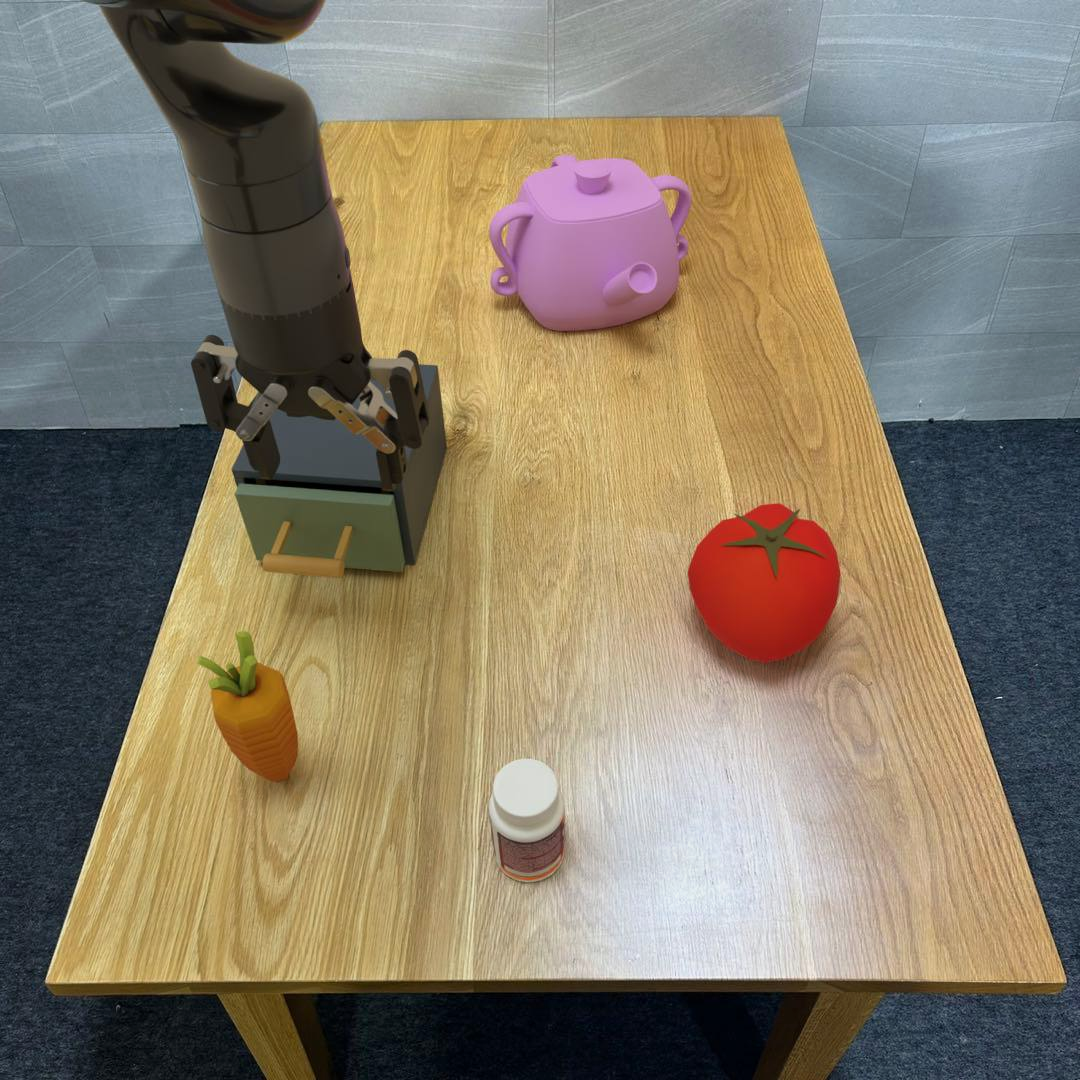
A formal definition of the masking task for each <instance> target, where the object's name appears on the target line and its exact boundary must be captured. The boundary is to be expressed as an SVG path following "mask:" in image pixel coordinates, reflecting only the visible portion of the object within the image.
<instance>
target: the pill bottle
mask: <svg viewBox="0 0 1080 1080" xmlns="http://www.w3.org/2000/svg"><path fill="white" fill-rule="evenodd" d="M565 807H566V806H565V798H564V796H563V793H562V791H561V789H560V787H559V782H558V778H557V776H556V774H555V772H554V771H553V770H552V769H551V767H550V766H548V765H547V763H544V761H543V762H542V761H540V760H538V759H535V758H518V759H515V760H512V761H510V762H508V763H506V764H505V765H503V766H502V767H501V769H500V770H498V772H497V773H496V775H495V777H494V780H493V783H492V793H491V795H490V798H489V800H488V808H487V810H488V811H487V812H488V818H489V825H490V831H491V840H492V841H491V842H492V847H493V849H492V850H493V855H494V859H495V862H496V864H497V866H498V867H499V869H500V870H501V871H502V873H503V874H505V875H506V876H507V877H509V878H511V879H513V880H515V881H518V882H522V883H535V882H539V881H543V880H544V879H545V880H546V879H547V878H548V877H551V875H553V874H554V873H555V872H556V871H557V870H558V869H559V867H560V866H561V865H562V862H563V860H564V856H565V851H566V820H565V819H566V814H565V812H566V810H565Z"/></svg>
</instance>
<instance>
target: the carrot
mask: <svg viewBox="0 0 1080 1080" xmlns="http://www.w3.org/2000/svg"><path fill="white" fill-rule="evenodd" d="M235 637H236V638H235V639H236V644H237V647H238V653H239V666H235V665H234V664H233V662H229V663H227V664H226V665H225V668H223V667H221V666H220V665H219V664H218V663H216V662H215V661H213V660H211V659H209V658H208V657H205V656H203V655H199V657H198V658H197V664H198V665H199V666H201V667H203V668H204V669H207V670H209V671H211V672H212V673H214V675H217V677H213V678H211V679H209V680H208V686H209V688H210V696H211V704H212V710H213V718H214V721H215V724H216V725H217V727H218V729H219V732H220V734H221V736H222V737H223V739H224V740H225V742H226V745H227V746H228V748H229V750H230V751H231V752H232V754H233V755H234V756H235V757H236V759H238V761H240V763H241V764H243V765H244V766H245V767H246V769H248V771H250V772H252V773H254V774H256V775H257V776H259V777H261V778H264V779H266V780H268V781H270V782H273V783H281V782H285V781H286V780H287V778H288V777H289V776H290V774H291V772H292V771H293V770H294V767H295V766H296V763H297V759H298V756H299V738H298V737H299V736H298V728H297V724H296V719H295V715H294V710H293V706H292V701H291V698H290V694H289V693H290V692H289V690H288V687H287V683H286V680H285V677H284V674H282V672H280V671H279V670H277V669H274V668H272V667H270V666H268V665H265V664H263V663H260V662H259V661H258V659H257V657H256V656H255V655H256V654H255V648H254V643H253V638H252V635H251V633H250V632H249V631H244V630H240V631H238V632H236V633H235ZM225 669H226V670H225Z"/></svg>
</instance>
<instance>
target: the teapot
mask: <svg viewBox="0 0 1080 1080" xmlns="http://www.w3.org/2000/svg"><path fill="white" fill-rule="evenodd" d="M667 190H668V191H669V190H672V191H677V193H678V197H677V201H676V204H675V207H674V210H673V211H672V214H671V215H670V214H669V211H668V208H667V207H668V206H667V205H666V202H665V200H664V198H663V195H662V193H661V192H663V191H667ZM692 200H693V199H692V192H691V189H690V187H689V185H688V184H686V182H684V181H683V180H682V179H680V178H679V177H677V176H674V175H670V174H661V175H657V176H653V177H651V178H650V177H649V176H648V174H646V173H645V171H644V170H643V169H642V168H641V167H640V166H638V164H637V163H635V162H634V161H632V160H630V159H626V158H616V157H614V158H607V157H606V158H597V159H596V158H595V159H585V160H580V161H579V160H578V159H577V157H576V156H574V155H572V154H561V155H558V156H556V157H554V159H552V161H551V163H550V167H548V168H545V169H542V170H539V171H536V172H534V173H532V174H530V175H529V176H528V177H526V178H525V179H524V181H523V183H522V185H521V186H520V190H519V192H518V195H517V197H516V200H515V202H512V203H510V204H507V205H504V206H503V207H501V209H500V210H498V211H497V212H496V213H495V214H494V216H493V217H492V218H491V221H490V222H489V228H488V236H489V240H490V244H491V247H492V249H493V251H494V254H495V255H496V257H497V258H498V260H499V262H500V264H501V265H502V266H501V267H497V268H495V269H494V270H493V271H492V272H491V274H490V278H489V279H490V280H489V284H490V287H491V290H492V291H493V292H494V293H495V294H496V295H499V296H502V297H511V296H514V295H516V294H517V295H518V297H519V298H520V300H521V302H522V303H523V304H524V306H525V307H526V309H527V311H528V312H529V313H530V314H531V316H533V318H534V320H536V321H537V323H538V324H539V325H541V326H542V327H544V328H546V329H548V330H552V331H557V332H558V331H559V332H576V331H577V332H579V331H588V330H589V331H590V330H598V329H606V328H611V327H615V326H620V325H624V324H627V323H630V322H634V321H637V320H639V319H642V318H646V317H647V316H650V315H652V314H654V313H656V312H659V311H660V310H661V309H663V308H664V307H665V306H666V305H667V303H668V302H669V301H670V300H671V298H672V296H673V295H674V294H675V292H676V291H677V288H678V285H679V283H680V262H681V261H682V260H683V259H685V258H686V257H687V255H688V254H689V248H690V247H689V246H690V245H689V241H688V238H687V237H686V236H685V235H684V234H682V233H681V231H682V229H683V227H684V225H685V223H686V221H687V219H688V217H689V213H690V211H691V207H692ZM507 225H508V226H507ZM506 226H507V231H506V239H505V240H506V241H505V244H504V240H503V237H502V236H503V235H502V232H503V230H504V229H505V227H506ZM503 277H508V279H507V280H506V281H504V282H501V281H500V280H501V279H502V278H503Z"/></svg>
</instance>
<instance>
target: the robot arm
mask: <svg viewBox="0 0 1080 1080" xmlns="http://www.w3.org/2000/svg"><path fill="white" fill-rule="evenodd" d="M80 1H81V2H85V3H87V4H91V5H96V6H98V8H99V9H100V11H101V13H102V15H103V17H104V18H105V20H106V22H107V24H108V27H110V29H111V31H112V33H113V34H114V35H113V36H115V38H116V39H117V42H118V43H119V45H120V46H121V48H122V49H123V51H124V53H125V54H126V56H127V58H128V59H129V60H130V62H131V64H132V66H133V67H134V69H135V70H136V72H137V74H138V75H139V77H140V79H141V80H142V82H143V84H144V86H145V88H146V89H147V91H148V92H149V94H150V95H151V96H150V97H152V99H153V101H154V103H155V104H156V107H157V108H158V109H159V111H160V113H161V114H162V116H163V117H164V119H165V121H166V123H167V124H168V126H169V127H170V129H171V131H172V132H173V134H174V136H175V138H176V140H177V142H178V144H179V146H180V150H181V153H182V156H183V161H184V164H185V168H186V171H187V174H188V178H189V181H190V185H191V188H192V192H193V195H194V198H195V202H196V205H197V208H198V211H199V217H200V220H201V227H202V234H203V235H202V236H203V242H204V248H205V251H206V255H207V260H208V263H209V266H210V269H211V273H212V276H213V279H214V283H215V286H216V291H217V293H218V297H219V300H220V303H221V306H222V310H223V314H224V316H225V319H226V324H227V327H228V330H229V334H230V336H231V341H232V344H233V346H229V345H228V346H227V345H225V343H224V341H223V339H222V338H221V337H219V336H217V335H215V334H208V335H206V336H205V338H204V340H203V341H202V343H201V345H200V346H199V348H198V349H197V351H196V353H195V355H194V356H193V358H192V360H191V361H190V366H191V370H192V373H193V377H194V381H195V384H196V388H197V393H198V396H199V399H200V403H201V406H202V411H203V414H204V418H205V423H206V424H207V426H208V428H209V429H211V430H213V431H215V432H223V431H224V430H225V429H227V430H228V431H229V430H230V431H232V432H234V433H235V435H236V437H238V439H239V440H241V441H242V445H243V444H244V447H245V451H246V454H247V457H248V460H249V463H250V466H251V467H252V468H253V469H254V470H255V471H259V475H260V477H261V478H262V479H273V478H274V475H275V473H276V471H277V469H278V467H279V464H280V454H279V450H278V447H277V443H276V440H275V436H274V433H273V429H272V426H271V422H270V420H269V418H270V417H271V416H272V414H273V413H274V412H275V410H276V409H279V410H281V411H283V412H286V413H287V416H288V417H306V416H312V417H316V418H319V419H323V420H335V418H337V419H338V420H339V421H340V422H341V423H343V424H344V425H345V426H346V427H347V428H348V429H349V430H350V431H351V432H352V433H354V434H355V435H359V434H362V435H364V436H365V437H366V438H367V439H368V440H369V441H370V442H371V443H372V444H373V445H375V446H376V447H377V451H376V457H377V463H378V468H379V473H380V478H381V484H382V489H383V490H386V491H394V490H395V487H396V485H397V484H401V482H402V480H403V477H404V474H405V471H406V468H407V465H408V464H407V459H406V451H405V446H407V447H409V448H411V449H417V448H420V447H421V445H422V442H423V437H424V434H425V431H426V428H427V426H428V424H429V421H430V415H429V410H428V405H427V401H426V396H425V391H424V386H423V382H422V377H421V372H420V367H419V364H420V363H419V358H418V356H417V354H416V353H415V352H414V351H412V350H409V349H403V350H400V352H399V353H398V355H397V358H379V357H378V358H377V357H373V356H372V354H371V353H370V352H369V351H368V350H367V347H365V344H364V342H363V335H362V325H361V320H360V315H359V309H358V304H357V298H356V294H355V288H354V283H353V277H352V271H351V255H350V250H349V249H350V248H349V247H348V246H347V244H346V240H345V239H346V238H345V233H344V229H343V223H342V220H341V218H340V215H339V212H338V209H337V206H336V203H335V200H334V197H333V192H332V189H331V184H330V178H329V173H328V166H327V162H326V161H327V160H326V155H325V151H324V146H323V139H322V133H321V128H320V124H319V119H318V114H317V111H316V109H315V104H314V102H313V101H312V98H311V97H310V95H309V93H308V92H307V90H306V89H305V88H304V87H302V85H300V84H298V83H297V82H295V81H294V80H293V79H291V78H288V77H286V76H283V75H281V74H278V73H276V72H272V71H270V70H266V69H263V68H262V67H258V66H256V65H253V64H250V63H248V62H246V61H244V60H242V59H241V58H239V57H238V56H236V55H234V54H233V53H232V52H231V51H230V50H229V48H228V47H227V46H226V45H225V44H226V43H227V44H245V45H278V44H283V43H287V42H290V41H293V40H294V39H296V38H298V37H299V36H302V34H304V33H305V32H307V30H308V29H309V28H310V27H311V26H312V25H313V24H314V22H315V21H316V20H317V18H318V17H319V15H320V14H321V12H322V10H323V8H324V7H325V4H326V0H80ZM224 43H225V44H224ZM235 370H236V371H237V373H238V374H239V375H240V376H241V378H243V379H244V380H245V381H246V382H247V383H249V385H251V386H252V388H254V389H255V390H256V391H257V392H256V394H255V396H254V397H253V398H252V400H251V401H250V403H249V404H248V405H245V404H242V403H239V402H238V397H237V393H236V390H235V384H234V380H233V376H232V375H233V373H234V371H235ZM370 379H373V380H376V381H378V382H379V383H380V384H381V385H382V387H383V389H384V390H385V391H386V392H385V395H386V396H387V397H390V398H391V397H393V401H394V405H395V409H396V412H395V411H394V410H393V409H391V408H390V407H389V406H388V405H387V404H386V403H385V401H384V398H383V394H382V393H381V391H380V390H379V389H378V388H377V387H376V386H375V385H374V384H372V383H371V382H370ZM357 398H359V400H360V406H359V408H358V410H357V409H356V408H354V407H353V406H352V404H353V403H354V402H355V400H356V399H357ZM376 420H377V421H378V422H379V423H380V424H381V425H382V426H383V427H382V426H381V425H380V424H379V423H378V422H377V421H376Z"/></svg>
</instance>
